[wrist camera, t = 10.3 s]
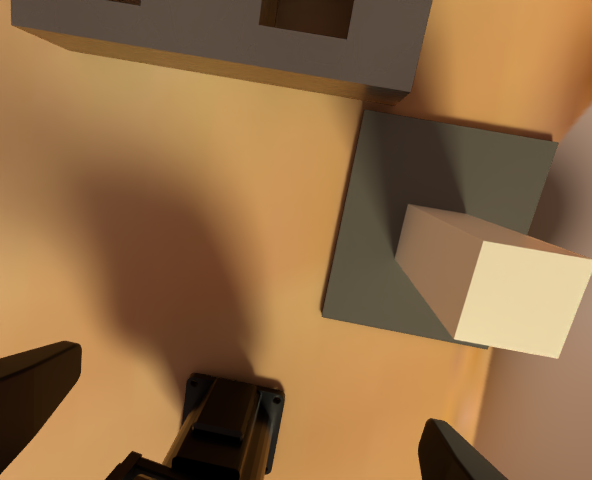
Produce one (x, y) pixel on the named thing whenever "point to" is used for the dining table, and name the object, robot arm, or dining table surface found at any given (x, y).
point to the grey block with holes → (243, 41)
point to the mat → (428, 193)
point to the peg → (492, 280)
